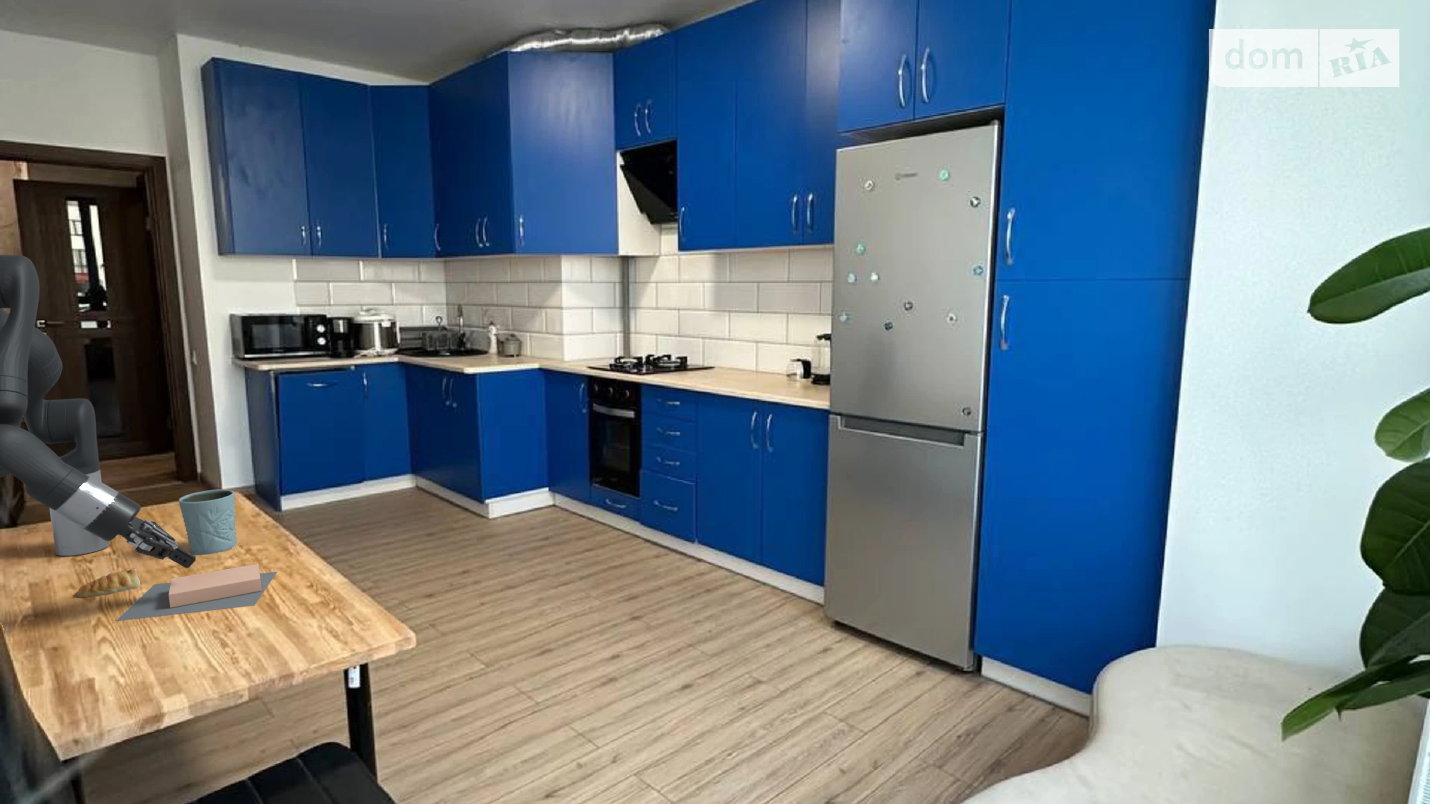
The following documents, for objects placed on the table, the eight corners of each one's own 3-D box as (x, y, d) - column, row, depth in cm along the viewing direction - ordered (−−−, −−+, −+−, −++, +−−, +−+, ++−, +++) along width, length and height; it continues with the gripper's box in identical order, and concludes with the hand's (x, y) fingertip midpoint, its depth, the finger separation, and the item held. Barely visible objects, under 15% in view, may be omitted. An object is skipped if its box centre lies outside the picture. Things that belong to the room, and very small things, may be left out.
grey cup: (248, 545, 171) (243, 493, 169) (198, 559, 162) (192, 504, 160) (225, 537, 176) (220, 487, 174) (176, 550, 168) (169, 497, 166)
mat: (154, 587, 147) (154, 584, 147) (277, 574, 153) (277, 571, 153) (116, 624, 131) (115, 620, 131) (254, 608, 137) (254, 605, 137)
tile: (168, 594, 136) (260, 578, 143) (171, 578, 143) (258, 563, 151) (170, 608, 136) (261, 591, 143) (173, 591, 144) (259, 576, 151)
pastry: (80, 605, 140) (77, 585, 139) (76, 595, 144) (73, 576, 144) (143, 591, 146) (141, 572, 146) (137, 581, 151) (135, 563, 150)
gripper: (111, 500, 128) (207, 557, 136) (120, 483, 139) (208, 536, 147) (75, 537, 126) (174, 591, 134) (87, 516, 137) (178, 568, 145)
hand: (192, 562), depth 141 cm, fingers closed
